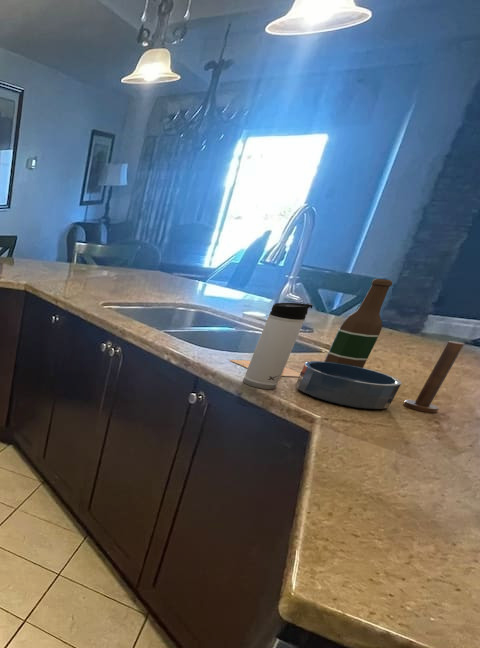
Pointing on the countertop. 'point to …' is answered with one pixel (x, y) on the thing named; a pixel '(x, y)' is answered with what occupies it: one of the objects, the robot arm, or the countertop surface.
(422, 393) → the wooden post with base
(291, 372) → the tan flat slab
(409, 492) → the countertop surface
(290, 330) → the travel mug
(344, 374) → the bowl
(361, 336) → the beer bottle
